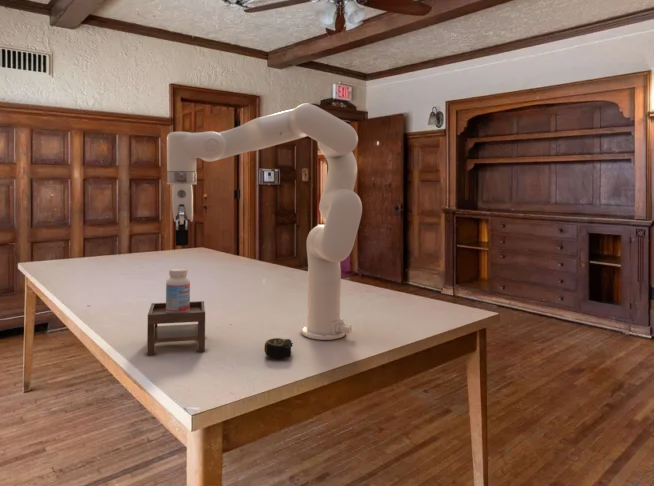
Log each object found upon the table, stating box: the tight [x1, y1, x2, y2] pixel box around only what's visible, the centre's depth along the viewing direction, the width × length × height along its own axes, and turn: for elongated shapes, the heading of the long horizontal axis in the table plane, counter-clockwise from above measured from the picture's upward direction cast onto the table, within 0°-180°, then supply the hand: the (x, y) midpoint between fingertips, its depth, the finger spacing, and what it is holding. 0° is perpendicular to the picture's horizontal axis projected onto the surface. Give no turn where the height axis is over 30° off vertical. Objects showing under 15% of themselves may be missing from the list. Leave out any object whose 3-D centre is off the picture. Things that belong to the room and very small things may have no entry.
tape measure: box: [264, 337, 294, 359], centre depth 116 cm, size 7×7×4 cm
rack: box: [146, 300, 206, 356], centre depth 122 cm, size 14×12×10 cm
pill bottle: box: [165, 267, 191, 313], centre depth 122 cm, size 6×6×11 cm
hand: (182, 243), depth 123 cm, fingers open, 9 cm apart
